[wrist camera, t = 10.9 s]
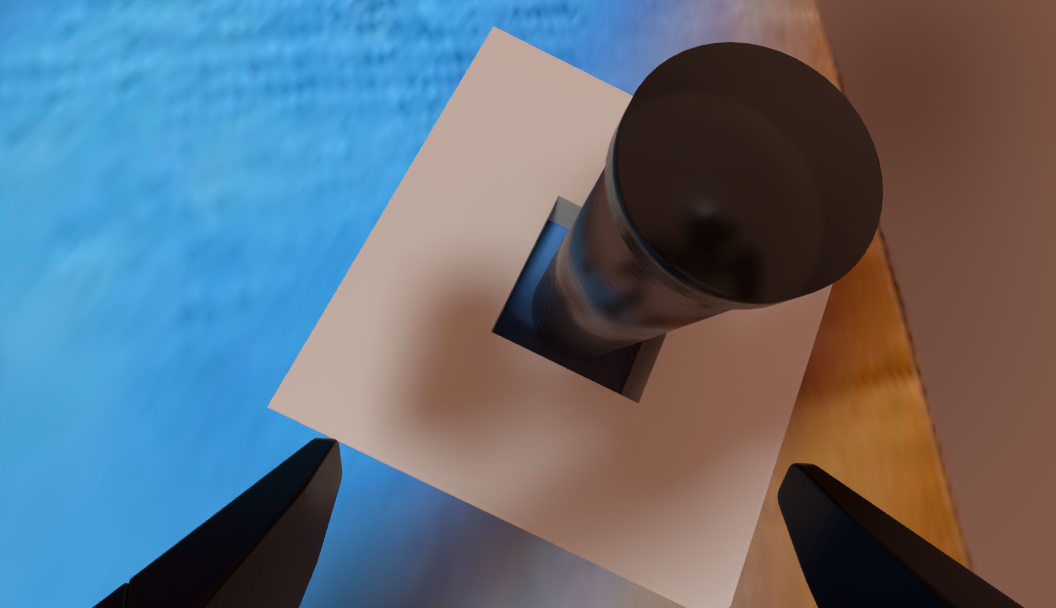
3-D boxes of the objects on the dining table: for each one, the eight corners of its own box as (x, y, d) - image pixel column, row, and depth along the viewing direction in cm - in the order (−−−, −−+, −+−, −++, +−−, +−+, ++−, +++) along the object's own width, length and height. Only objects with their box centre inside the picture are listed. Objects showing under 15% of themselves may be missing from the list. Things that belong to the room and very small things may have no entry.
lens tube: (608, 381, 23) (840, 349, 9) (509, 333, 23) (574, 218, 8) (648, 286, 24) (910, 116, 10) (554, 240, 24) (678, -1, 10)
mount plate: (690, 594, 22) (724, 625, 19) (295, 406, 21) (267, 407, 18) (813, 229, 26) (856, 208, 23) (491, 68, 26) (493, 26, 23)
